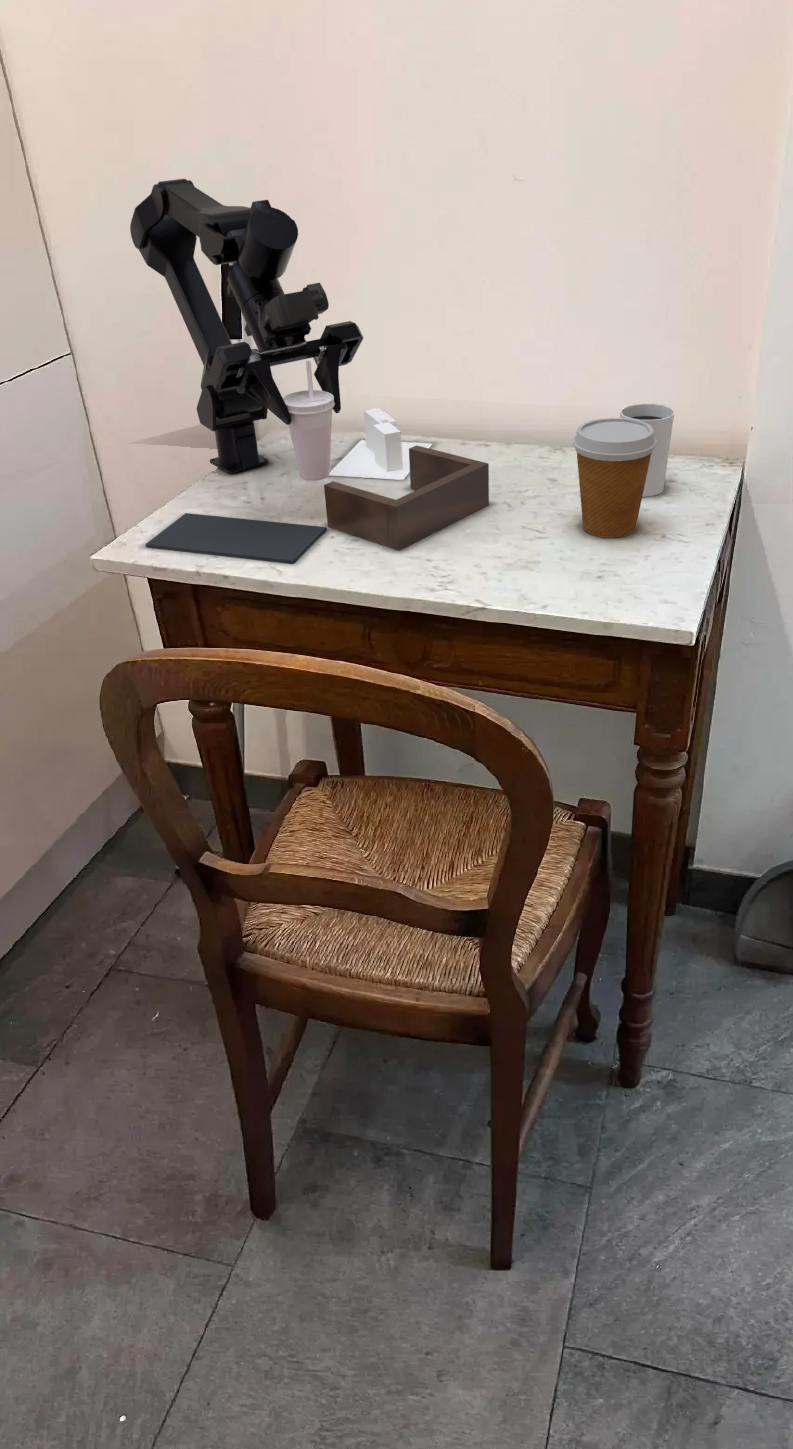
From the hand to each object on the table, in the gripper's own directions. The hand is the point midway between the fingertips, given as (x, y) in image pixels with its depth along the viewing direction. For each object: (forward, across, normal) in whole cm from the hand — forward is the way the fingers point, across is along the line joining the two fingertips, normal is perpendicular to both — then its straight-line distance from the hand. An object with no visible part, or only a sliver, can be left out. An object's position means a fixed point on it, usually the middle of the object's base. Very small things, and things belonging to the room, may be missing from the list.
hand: (314, 417), depth 128 cm
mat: (+8, -11, +10) cm, 17 cm away
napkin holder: (-1, +17, +20) cm, 26 cm away
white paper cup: (+21, +38, -3) cm, 44 cm away
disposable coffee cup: (+26, +26, -8) cm, 38 cm away
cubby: (+13, +9, +5) cm, 17 cm away
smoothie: (+5, 0, +6) cm, 8 cm away
